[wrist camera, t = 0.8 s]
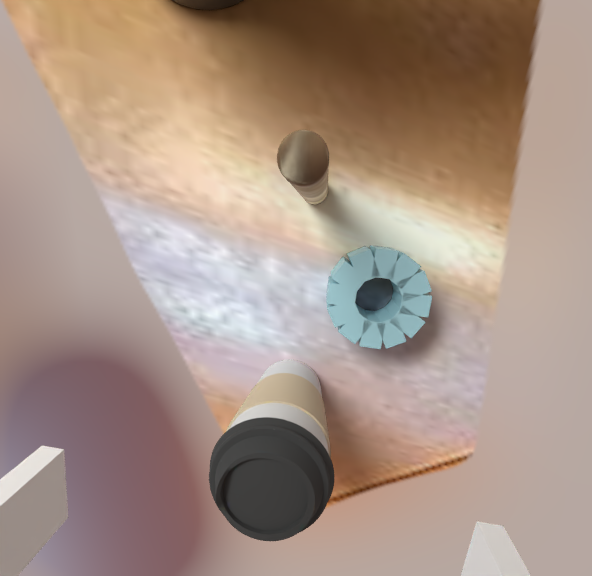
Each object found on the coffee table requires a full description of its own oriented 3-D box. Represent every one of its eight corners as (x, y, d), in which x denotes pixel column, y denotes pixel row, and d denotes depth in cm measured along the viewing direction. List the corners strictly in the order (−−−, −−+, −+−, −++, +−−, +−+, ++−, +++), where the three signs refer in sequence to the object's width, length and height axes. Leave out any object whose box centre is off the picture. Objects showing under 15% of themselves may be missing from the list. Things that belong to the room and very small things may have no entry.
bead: (333, 240, 32) (335, 243, 28) (426, 252, 32) (440, 256, 28) (322, 327, 34) (321, 340, 30) (409, 339, 33) (420, 354, 30)
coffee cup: (339, 360, 35) (349, 459, 20) (322, 434, 36) (319, 575, 22) (256, 342, 35) (206, 426, 20) (243, 416, 37) (188, 542, 22)
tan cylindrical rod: (303, 175, 31) (279, 127, 16) (329, 178, 31) (332, 132, 16) (300, 202, 32) (274, 181, 16) (326, 206, 32) (325, 187, 16)
